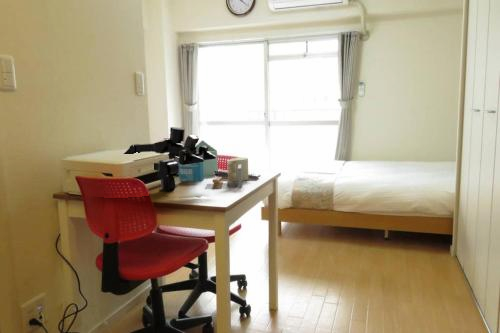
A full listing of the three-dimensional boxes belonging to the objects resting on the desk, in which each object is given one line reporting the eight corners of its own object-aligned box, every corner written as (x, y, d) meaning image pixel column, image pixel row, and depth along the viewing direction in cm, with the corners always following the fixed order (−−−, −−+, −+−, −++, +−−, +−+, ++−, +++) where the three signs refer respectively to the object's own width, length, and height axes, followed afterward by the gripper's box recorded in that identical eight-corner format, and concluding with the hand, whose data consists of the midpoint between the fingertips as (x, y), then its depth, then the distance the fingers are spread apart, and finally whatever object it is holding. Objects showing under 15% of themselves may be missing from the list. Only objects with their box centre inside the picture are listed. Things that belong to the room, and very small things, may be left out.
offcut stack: (212, 188, 178) (212, 180, 178) (214, 183, 188) (214, 176, 187) (221, 187, 178) (221, 180, 178) (223, 183, 188) (222, 176, 187)
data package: (179, 182, 200) (177, 160, 198) (183, 181, 204) (181, 158, 202) (201, 183, 197) (199, 160, 195) (204, 181, 201) (202, 158, 199)
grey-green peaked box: (186, 177, 215) (184, 142, 212) (191, 174, 223) (188, 140, 220) (214, 177, 212) (212, 141, 209) (218, 174, 220) (216, 140, 217)
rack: (204, 191, 177) (203, 169, 176) (207, 185, 189) (206, 165, 188) (242, 189, 177) (241, 168, 176) (242, 184, 189) (242, 164, 188)
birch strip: (228, 186, 182) (227, 160, 180) (228, 184, 184) (227, 160, 182) (236, 185, 182) (235, 160, 180) (236, 184, 184) (235, 159, 182)
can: (235, 178, 204) (233, 156, 202) (251, 179, 201) (250, 156, 199) (228, 182, 196) (227, 159, 194) (245, 182, 193) (244, 159, 191)
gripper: (169, 136, 166) (199, 143, 159) (195, 132, 182) (223, 139, 175) (167, 160, 169) (196, 169, 162) (193, 155, 185) (220, 162, 178)
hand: (209, 159), depth 169 cm, fingers open, 9 cm apart
